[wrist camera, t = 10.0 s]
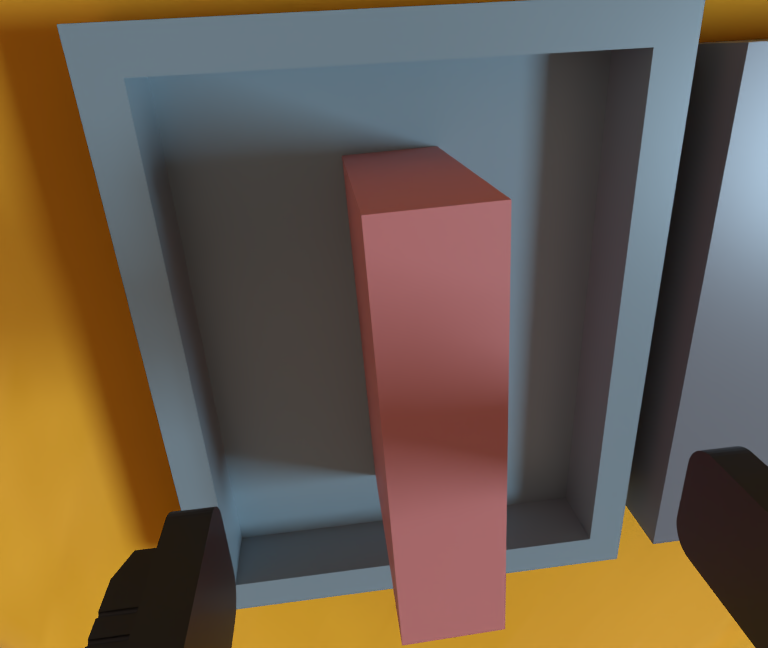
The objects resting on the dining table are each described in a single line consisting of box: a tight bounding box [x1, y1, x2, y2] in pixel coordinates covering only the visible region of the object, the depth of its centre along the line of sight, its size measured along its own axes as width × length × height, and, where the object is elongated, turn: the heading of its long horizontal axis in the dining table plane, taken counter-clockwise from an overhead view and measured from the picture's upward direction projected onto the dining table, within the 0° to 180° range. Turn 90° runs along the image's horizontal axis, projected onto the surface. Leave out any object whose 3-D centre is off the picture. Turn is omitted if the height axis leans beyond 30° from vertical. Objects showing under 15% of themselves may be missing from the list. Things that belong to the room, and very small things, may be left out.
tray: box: [57, 0, 705, 609], centre depth 16 cm, size 13×16×2 cm
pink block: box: [342, 146, 512, 645], centre depth 14 cm, size 2×6×10 cm
